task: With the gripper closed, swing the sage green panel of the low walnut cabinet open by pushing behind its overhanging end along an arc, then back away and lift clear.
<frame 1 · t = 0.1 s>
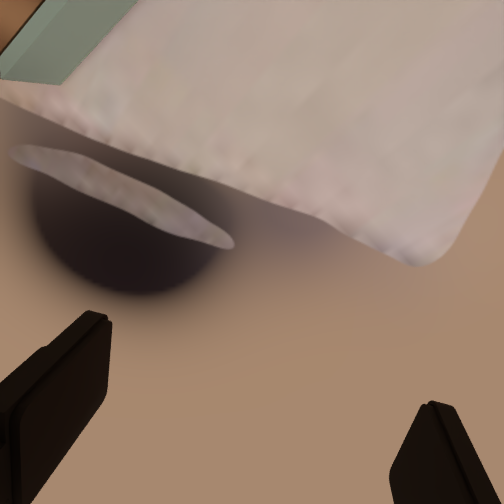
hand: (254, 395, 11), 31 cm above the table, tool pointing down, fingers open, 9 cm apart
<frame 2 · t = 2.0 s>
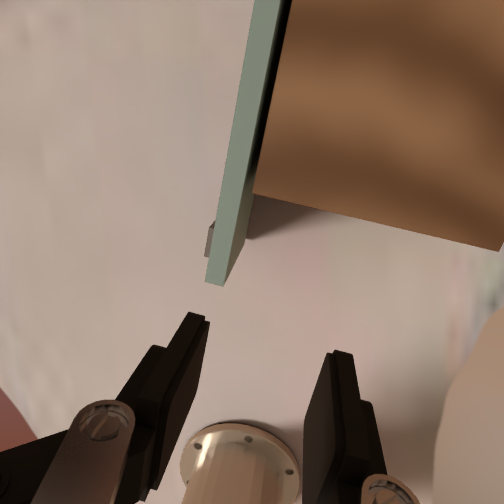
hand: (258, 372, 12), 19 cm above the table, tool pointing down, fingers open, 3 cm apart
sage green panel: (255, 89, 23), point 4 cm above the table, hinge at 0.0°
cabinet: (392, 79, 26), on the table
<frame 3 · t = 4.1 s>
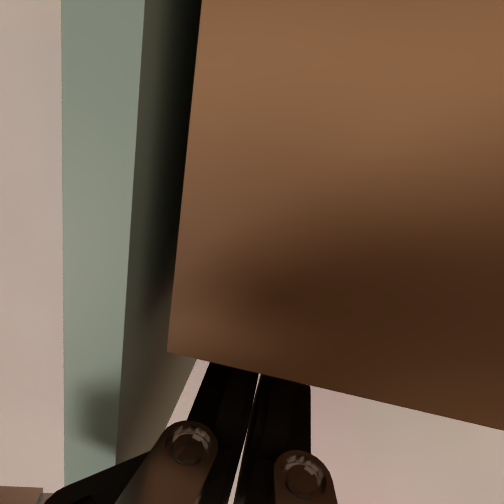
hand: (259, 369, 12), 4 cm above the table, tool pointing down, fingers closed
sage green panel: (174, 64, 9), point 4 cm above the table, hinge at 0.8°, touching gripper
cabinet: (496, 37, 12), on the table
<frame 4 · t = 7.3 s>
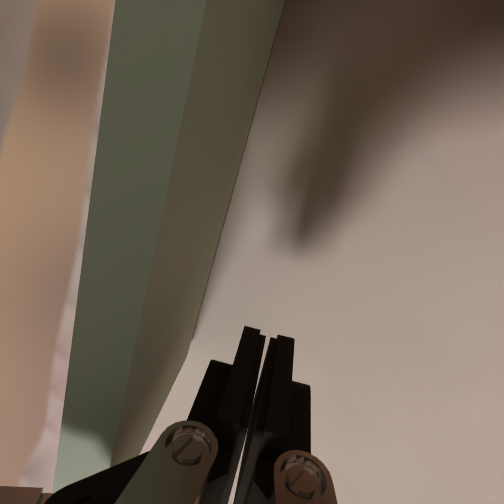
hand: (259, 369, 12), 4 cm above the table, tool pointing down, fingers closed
sage green panel: (205, 67, 9), point 4 cm above the table, hinge at 52.8°, touching gripper
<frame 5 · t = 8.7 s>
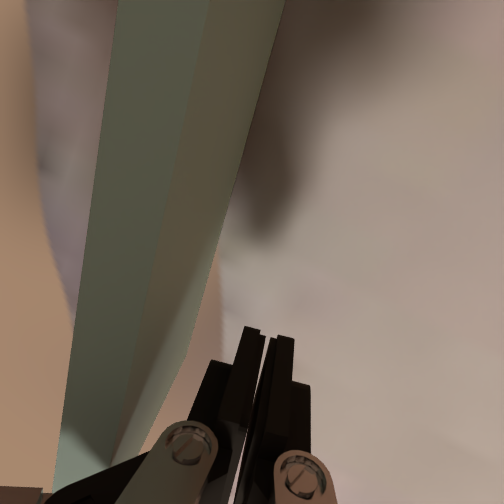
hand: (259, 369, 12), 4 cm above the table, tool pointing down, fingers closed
sage green panel: (206, 64, 9), point 4 cm above the table, hinge at 72.5°, touching gripper
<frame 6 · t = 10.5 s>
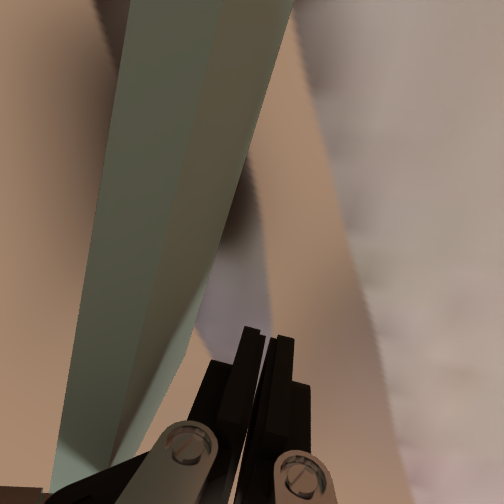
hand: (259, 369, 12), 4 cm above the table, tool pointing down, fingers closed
sage green panel: (214, 65, 9), point 4 cm above the table, hinge at 91.3°, touching gripper
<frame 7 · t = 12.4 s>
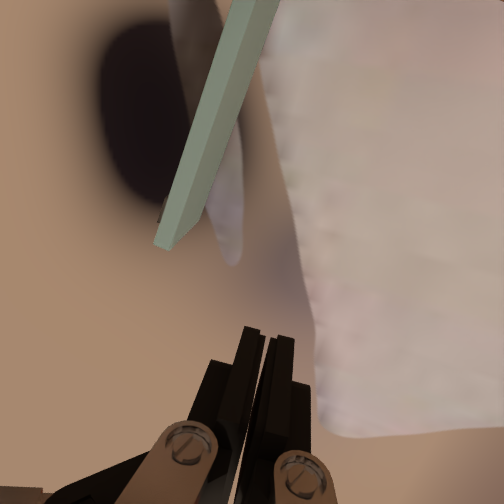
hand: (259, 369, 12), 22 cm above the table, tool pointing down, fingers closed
sage green panel: (226, 83, 26), point 4 cm above the table, hinge at 91.3°
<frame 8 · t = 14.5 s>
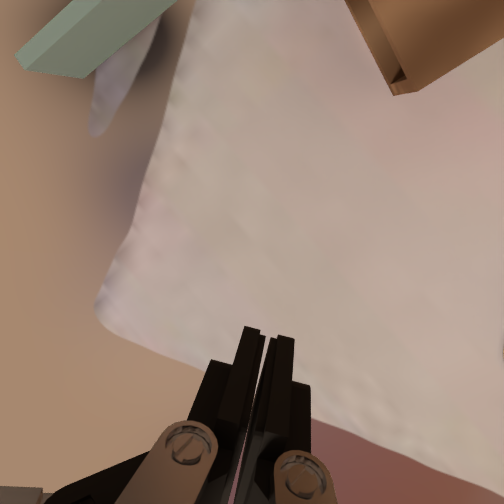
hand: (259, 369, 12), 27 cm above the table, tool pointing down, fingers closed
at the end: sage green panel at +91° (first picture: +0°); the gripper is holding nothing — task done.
